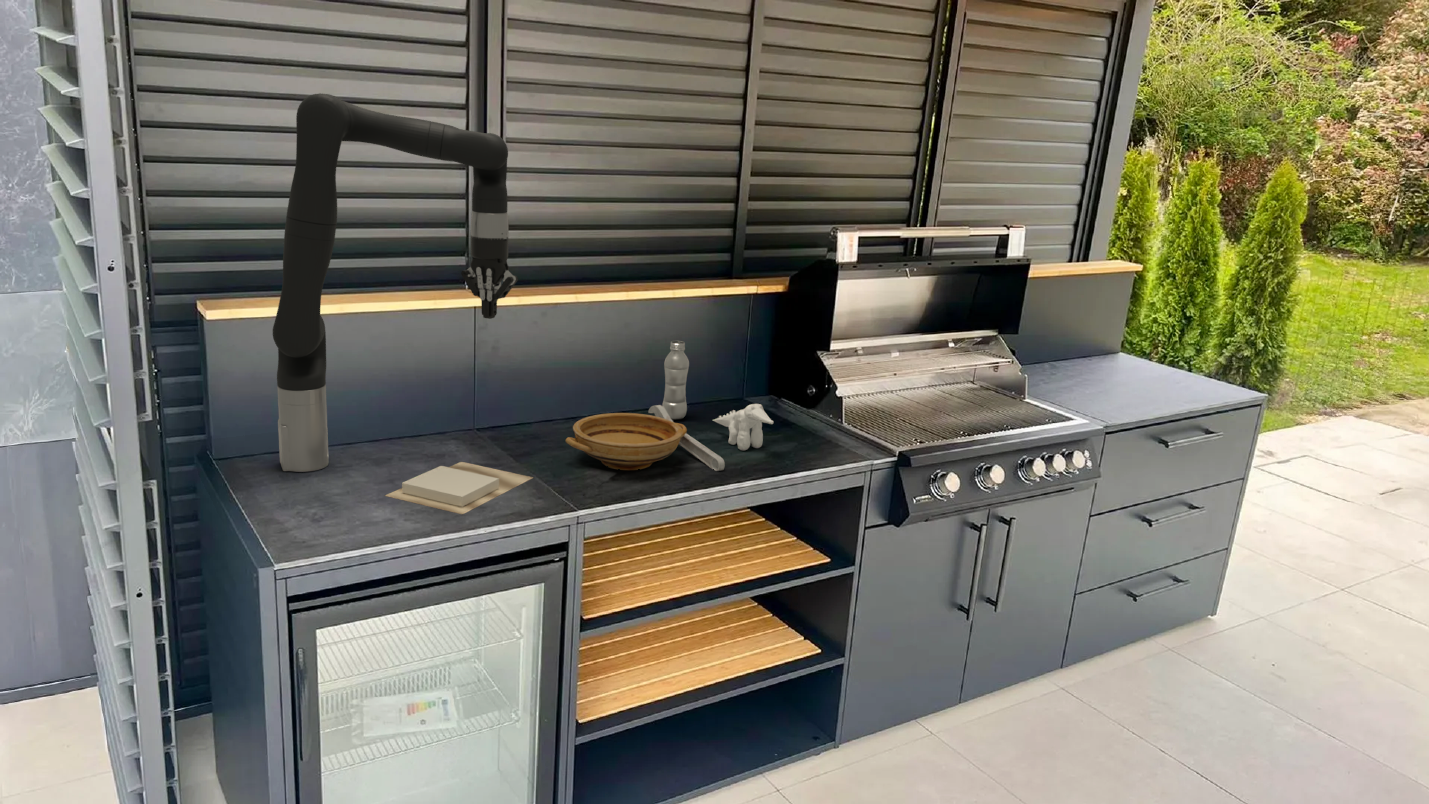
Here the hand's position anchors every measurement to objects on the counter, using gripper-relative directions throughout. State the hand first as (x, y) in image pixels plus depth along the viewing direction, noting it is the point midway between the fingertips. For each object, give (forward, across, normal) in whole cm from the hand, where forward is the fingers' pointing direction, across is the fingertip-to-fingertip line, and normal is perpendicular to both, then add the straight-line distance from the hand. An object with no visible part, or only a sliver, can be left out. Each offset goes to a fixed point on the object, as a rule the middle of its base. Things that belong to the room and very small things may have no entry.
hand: (489, 317), depth 218 cm
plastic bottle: (+32, +18, +54) cm, 66 cm away
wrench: (+32, +32, +31) cm, 55 cm away
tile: (+29, +6, -15) cm, 34 cm away
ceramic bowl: (+32, +24, +18) cm, 44 cm away
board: (+32, +6, -18) cm, 37 cm away
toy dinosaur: (+32, +41, +44) cm, 68 cm away
